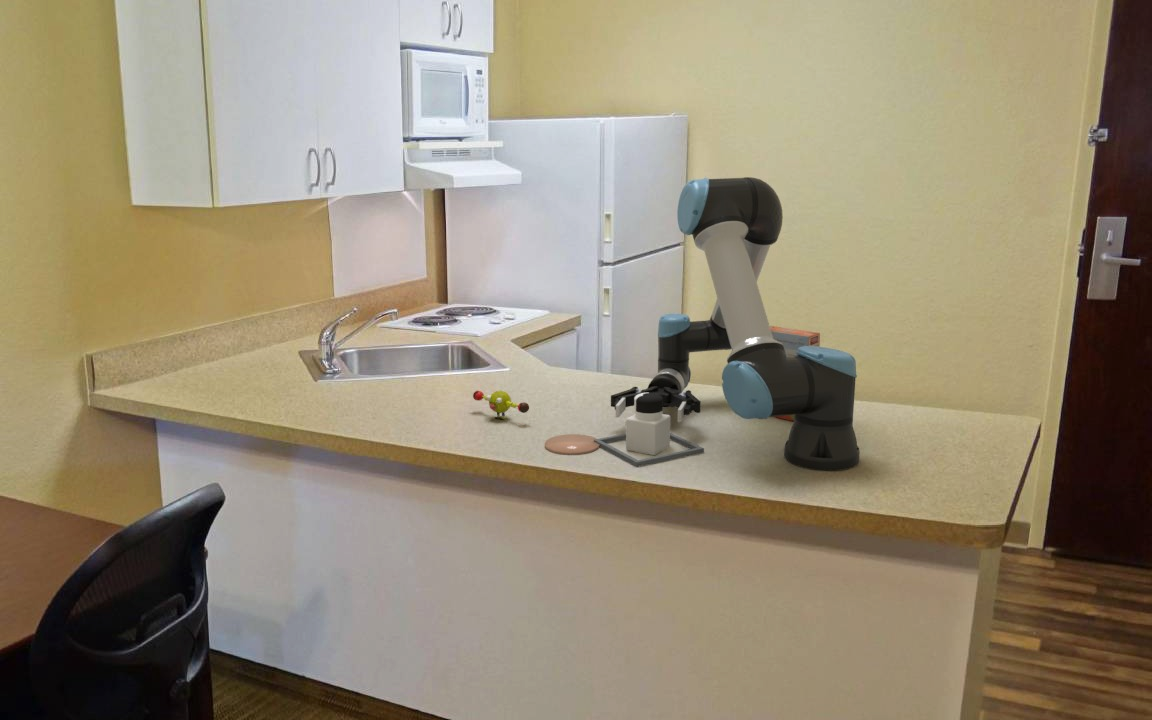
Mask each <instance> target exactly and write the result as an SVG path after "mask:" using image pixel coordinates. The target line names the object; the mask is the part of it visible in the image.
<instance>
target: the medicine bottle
mask: <svg viewBox="0 0 1152 720" xmlns="http://www.w3.org/2000/svg"><path fill="white" fill-rule="evenodd" d="M633 407H634V408H633V410H634V411H633V412H634V414H633V415H631V416H629V417H627V418H626V419H625V434H626V440H625V450H627V451H629V452H634V453H640V454H645V455H650V456H656V455H658V454H659V453H661V452H662V451H665V450H666V449H668V448H669V447H670V446H671V440H670V433H671V415H669V414H664V413H663V398H662V396H661V395H659V394H656V393H649V392H648V393H640V394H638V395H636V396H635V397H634V406H633Z"/></svg>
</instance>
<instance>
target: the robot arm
mask: <svg viewBox="0 0 1152 720" xmlns="http://www.w3.org/2000/svg"><path fill="white" fill-rule="evenodd" d="M681 189H682V190H681V192H680V194H679V199H678V202H677V210H676V211H677V217H676V218H677V225H678V229H679V231H680V232H681V233H682V234H683V235H686V236H690V235H692V238H693V243H694V245H695V247H696V248H697V249H699V250H701V251H704V254H705V258H706V261H707V264H708V265H707V266H708V269H709V274H710V277H711V280H712V282H713V288H714V290H715V294H716V301H715V303H714V307H713V309H712V313H711V316H710V317H709V318H710V319H708V320H696V321H691V319H690V317H689V316H688V315H687V314H685V313H684V314H683V313H666V314H663V315H662V316H660V318H659V320H658V331H657V342H658V345H657V347H658V353H657V354H658V356H657V357H658V358H657V373H656V374H655V375H654V377H653V378H652V379H651V381H650V382H649V383H648V386H647V387H646V388H644V389H642V390H639V387H638V386H633V387H632V388H630V389H626V390H624V391H621V392H618V393H617V392H616V393H614V394H611V395H610V407H613V408H614V411H615V418H620V417H621V416H622V414H624V412H625V410H627V409H626V408H629V407H634V397H635V396H636V395H638V394H640V393H648V392H649V393H656V394H659V395H661V396H662V398H663V408H665V409H666V408H669V407H671V408H677V423H681V422H682V421H683V419H684V417H686V416H690V414H691V413H692V412H693V413H695V414H700V413H701V401H700V400H699V399H698V398H697V397H696V396H695V395H694V394H693V393H692V390H689V389H688V390H685V389H686V388H687V386H688V385H689V383H690V382H691V375H692V371H691V368H690V366H689V365H690V353H698V352H700V353H701V352H710V351H711V352H712V351H713V352H714V351H722V350H723V351H729V350H731V352H730V353H729V355H728V356H727V358H726V363H727V364H726V365H725V366H724V368H723V370H722V374H721V380H722V383H721V386H722V391H723V396H724V398H725V401H726V403H727V404H728V406H729V408H730V410H731V411H732V412H734V413H735V415H737V416H739V417H740V418H742V419H745V420H754V419H758V420H766V419H768V418H777V416H785V415H794V414H795V418H794V421H793V424H792V426H791V428H790V432H789V435H788V439H787V441H785V444H784V447H783V448H784V449H783V451H784V452H783V455H784V456H783V458H784V459H785V460H786V461H787V462H789V463H791V464H792V465H795V466H796V467H797V466H798V467H801V468H804V469H809V470H816V471H842V470H848V469H852V468H854V467H856V466H857V465H858V464H859V463H860V454H861V453H860V452H861V451H860V447H859V446H858V442H857V438H856V432H855V430H854V424H853V423H854V422H853V421H854V409H855V394H856V393H855V391H856V379H857V377H858V376H857V361H856V359H855V357H854V356H853V355H852V354H850V353H848V352H846V351H842V350H839V349H837V348H836V349H835V348H830V347H823V346H819V347H817V346H802V347H799V348H798V351H797V356H794V357H787V356H786V353H785V350H784V346H783V344H782V343H780V342H778V341H776V340H774V339H773V336H772V333H771V329H770V326H771V325H770V322H769V320H768V316H767V313H766V310H765V306H764V302H763V299H762V296H761V292H760V289H759V286H758V283H757V282H758V279H759V277H760V274H761V272H762V268H763V266H764V263H765V261H766V258H767V255H768V253H769V250H770V248H771V246H772V245H774V244H776V242H777V241H778V238H779V237H780V233H781V231H782V227H783V207H782V203H781V200H780V197H779V196H778V194H777V192H776V191H775V189H773V187H772V186H771V185H770V184H769V183H767V182H766V181H763V180H762V179H761V178H757V177H749V176H748V177H747V176H746V177H727V178H726V177H725V178H708V177H704V178H699V179H692V180H689V181H687V183H686V184H685V185H683V188H681ZM684 390H685V391H684Z"/></svg>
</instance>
